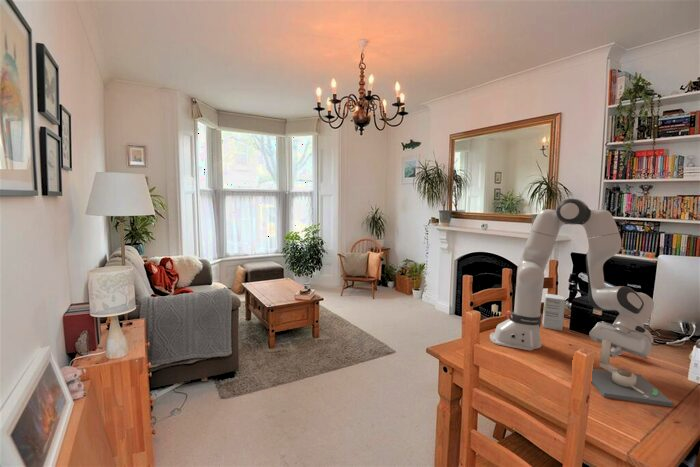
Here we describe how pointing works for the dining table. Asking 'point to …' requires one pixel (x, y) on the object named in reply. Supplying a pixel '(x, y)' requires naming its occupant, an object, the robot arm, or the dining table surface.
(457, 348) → the dining table surface
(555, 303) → the supplement box
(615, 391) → the dial plate
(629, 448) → the dining table surface
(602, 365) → the dial rotor
